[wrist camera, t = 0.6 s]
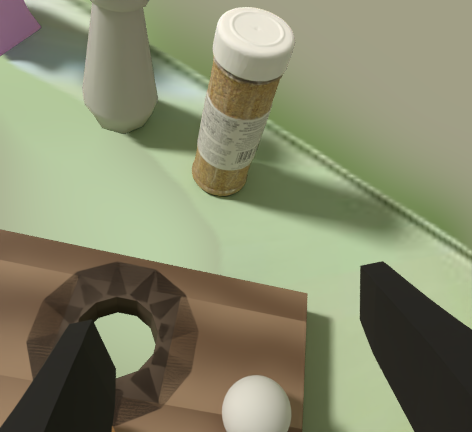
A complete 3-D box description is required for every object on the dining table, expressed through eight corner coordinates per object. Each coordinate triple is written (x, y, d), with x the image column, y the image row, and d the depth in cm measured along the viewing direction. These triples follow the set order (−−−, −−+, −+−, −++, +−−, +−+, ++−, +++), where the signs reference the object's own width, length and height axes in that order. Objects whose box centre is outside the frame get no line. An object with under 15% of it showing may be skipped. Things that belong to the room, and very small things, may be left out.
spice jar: (229, 148, 38) (271, -1, 27) (256, 189, 36) (312, 47, 25) (180, 162, 36) (203, 8, 25) (205, 206, 34) (242, 60, 23)
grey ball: (277, 460, 23) (299, 452, 20) (211, 448, 23) (224, 439, 20) (282, 390, 25) (302, 374, 22) (221, 378, 25) (234, 361, 22)
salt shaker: (121, 82, 39) (118, -76, 29) (170, 117, 38) (185, -34, 28) (69, 113, 36) (44, -51, 26) (120, 152, 35) (116, -3, 24)
